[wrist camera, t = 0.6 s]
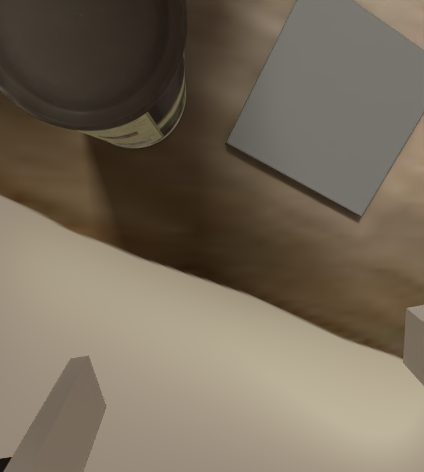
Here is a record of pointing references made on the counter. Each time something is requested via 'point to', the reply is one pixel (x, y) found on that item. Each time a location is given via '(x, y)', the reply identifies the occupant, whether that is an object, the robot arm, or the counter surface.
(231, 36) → the counter surface
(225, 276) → the counter surface
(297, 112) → the mat
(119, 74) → the coffee can
